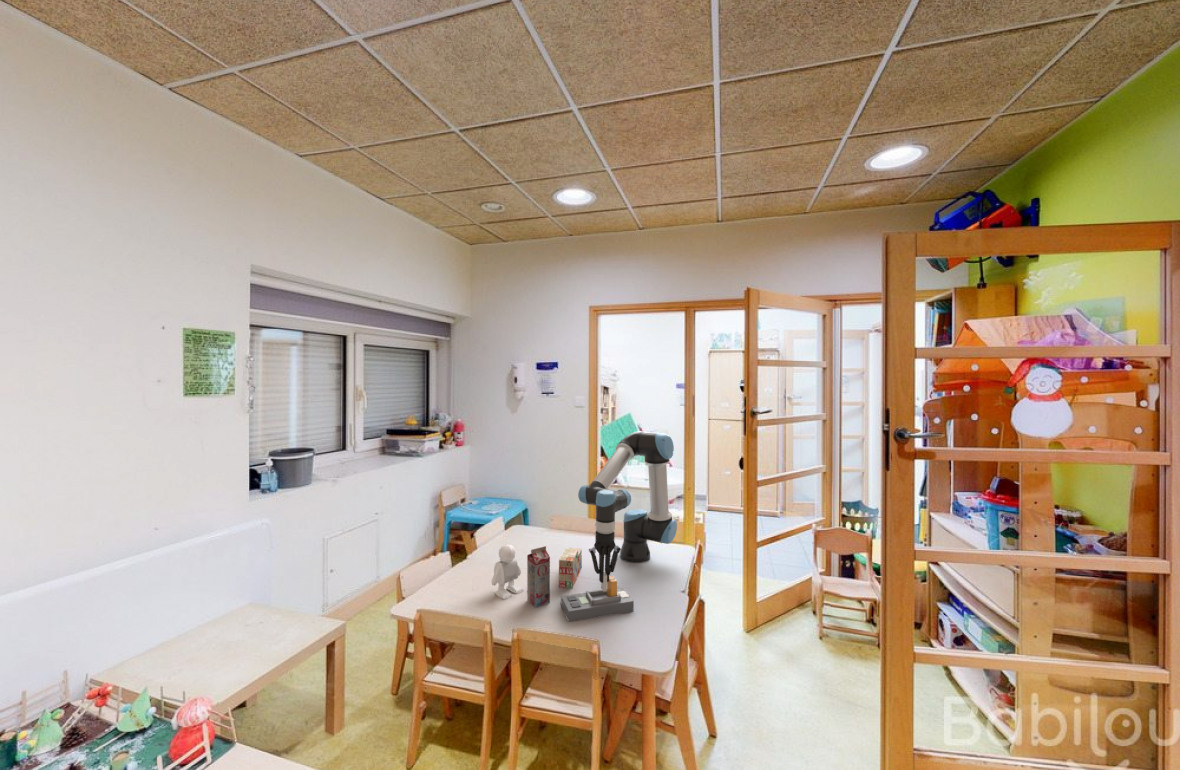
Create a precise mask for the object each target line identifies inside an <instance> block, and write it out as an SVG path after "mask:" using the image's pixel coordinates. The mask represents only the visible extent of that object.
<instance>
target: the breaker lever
mask: <svg viewBox="0 0 1180 770" xmlns="http://www.w3.org/2000/svg"><path fill="white" fill-rule="evenodd" d="M617 588H618V580H617V579H616V577H615V576H614V575H609V582H607V594H608V596H609V597H611V596H617Z"/></svg>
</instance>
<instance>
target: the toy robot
mask: <svg viewBox="0 0 1180 770" xmlns="http://www.w3.org/2000/svg"><path fill="white" fill-rule="evenodd" d="M498 557H499V561H497V562H495V564H494V568H493V577H492V579H491V585H492V586H494V587H495V586H497V584H498V588H497V590H496V591H494V595H496V596H498V597H499V598H501V600H506V599H508V598H510V597H512V596H511V593H510V592H512V593H514V594H516V595H517V594H520V593H522V592H524V588H522V587H519V585H516V584H515V580H517V579H518V578H519V576H521V574H522V570H521V568H520V567H519V565H518V561H517V560H516V549H515V547H514V546H513V545H511V544H508V543H506V544H504V545H502V546H501V547H500V548H499V550H498ZM507 583H508V585H507V586H506V584H507ZM505 586H506V589H507V590H506V589H505ZM509 591H510V592H509Z"/></svg>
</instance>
